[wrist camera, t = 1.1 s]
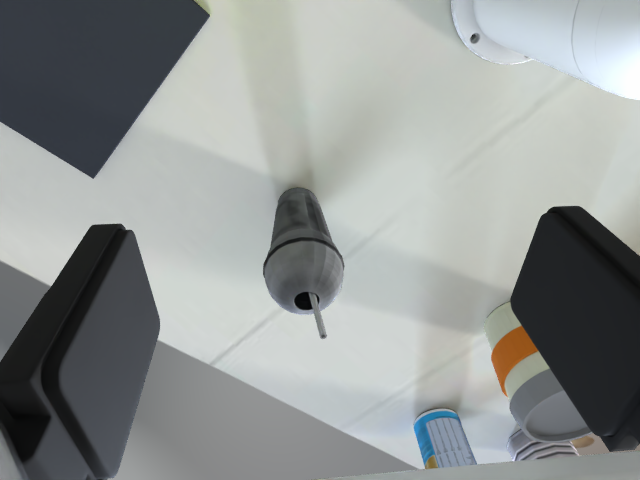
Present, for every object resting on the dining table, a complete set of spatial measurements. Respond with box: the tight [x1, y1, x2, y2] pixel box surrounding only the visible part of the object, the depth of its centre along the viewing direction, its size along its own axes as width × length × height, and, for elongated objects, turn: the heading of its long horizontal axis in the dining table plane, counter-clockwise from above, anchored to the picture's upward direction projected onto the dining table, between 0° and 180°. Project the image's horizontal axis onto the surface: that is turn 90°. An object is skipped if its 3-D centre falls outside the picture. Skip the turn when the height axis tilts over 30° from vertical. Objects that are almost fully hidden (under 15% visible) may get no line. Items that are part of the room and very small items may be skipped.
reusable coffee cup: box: [484, 302, 593, 443], centre depth 55 cm, size 12×13×15 cm
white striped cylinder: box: [507, 429, 580, 461], centre depth 76 cm, size 11×11×12 cm
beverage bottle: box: [414, 408, 477, 469], centre depth 66 cm, size 8×8×20 cm
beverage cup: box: [263, 188, 344, 339], centre depth 39 cm, size 7×7×20 cm
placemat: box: [0, 0, 210, 179], centre depth 35 cm, size 20×16×1 cm
